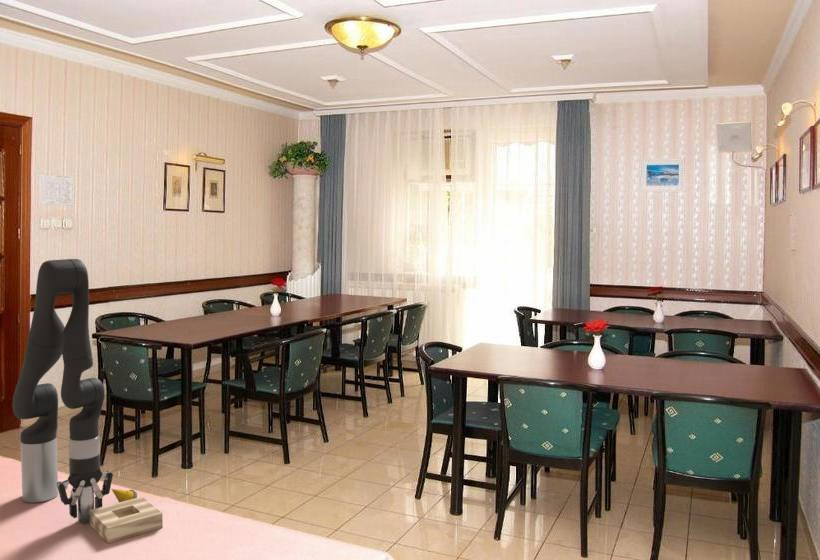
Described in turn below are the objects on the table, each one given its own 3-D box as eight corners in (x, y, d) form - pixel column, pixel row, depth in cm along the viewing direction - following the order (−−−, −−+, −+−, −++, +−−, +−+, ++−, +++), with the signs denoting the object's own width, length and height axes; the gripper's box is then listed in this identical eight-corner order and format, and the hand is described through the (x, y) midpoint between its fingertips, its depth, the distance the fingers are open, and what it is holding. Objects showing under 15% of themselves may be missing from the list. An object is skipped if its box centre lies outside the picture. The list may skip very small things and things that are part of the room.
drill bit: (142, 510, 193) (117, 494, 187) (126, 515, 195) (101, 500, 188) (145, 493, 197) (121, 477, 191) (130, 499, 199) (106, 483, 192)
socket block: (89, 524, 183) (89, 510, 182) (142, 510, 192) (142, 496, 192) (108, 543, 172) (107, 528, 172) (162, 527, 182) (162, 513, 181)
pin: (76, 520, 185) (75, 484, 184) (91, 516, 188) (90, 481, 187) (80, 525, 182) (79, 489, 181) (96, 521, 185) (95, 485, 184)
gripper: (107, 444, 191) (108, 502, 192) (51, 455, 181) (53, 516, 183) (117, 451, 185) (118, 511, 187) (59, 463, 176) (61, 526, 177)
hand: (86, 513), depth 185 cm, fingers open, 5 cm apart
